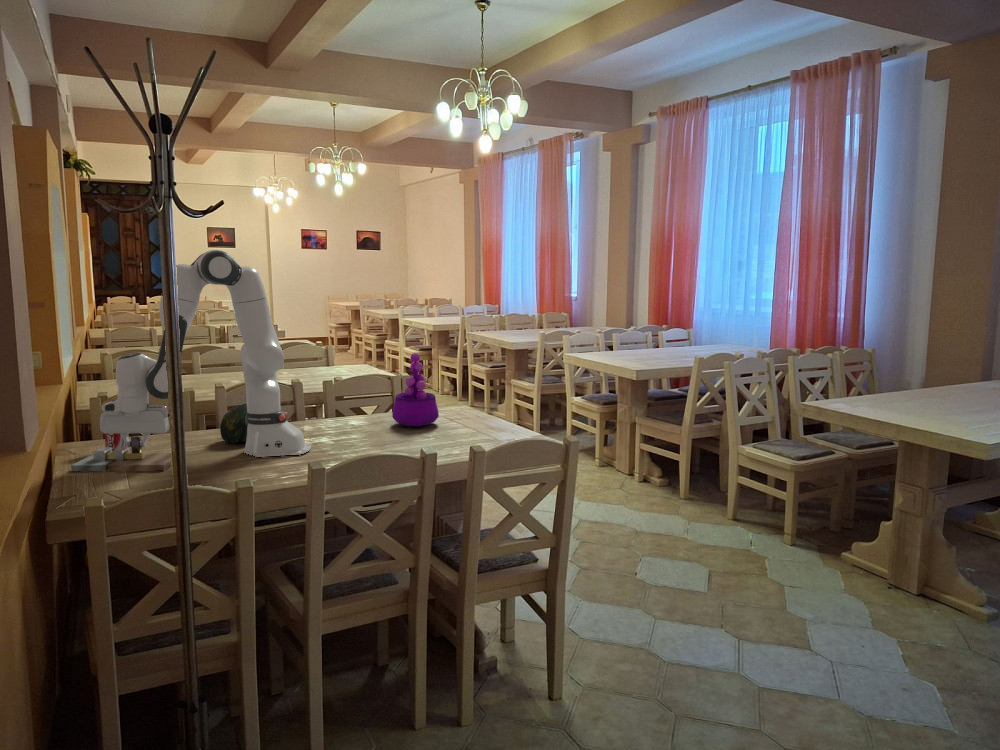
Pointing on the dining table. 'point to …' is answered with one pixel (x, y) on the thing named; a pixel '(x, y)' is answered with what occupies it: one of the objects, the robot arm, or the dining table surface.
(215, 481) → the dining table surface
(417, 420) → the decorative plant
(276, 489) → the dining table surface
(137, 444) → the bolt
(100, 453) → the bolt guides
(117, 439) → the soda can
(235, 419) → the squash
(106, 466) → the door board
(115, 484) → the dining table surface
